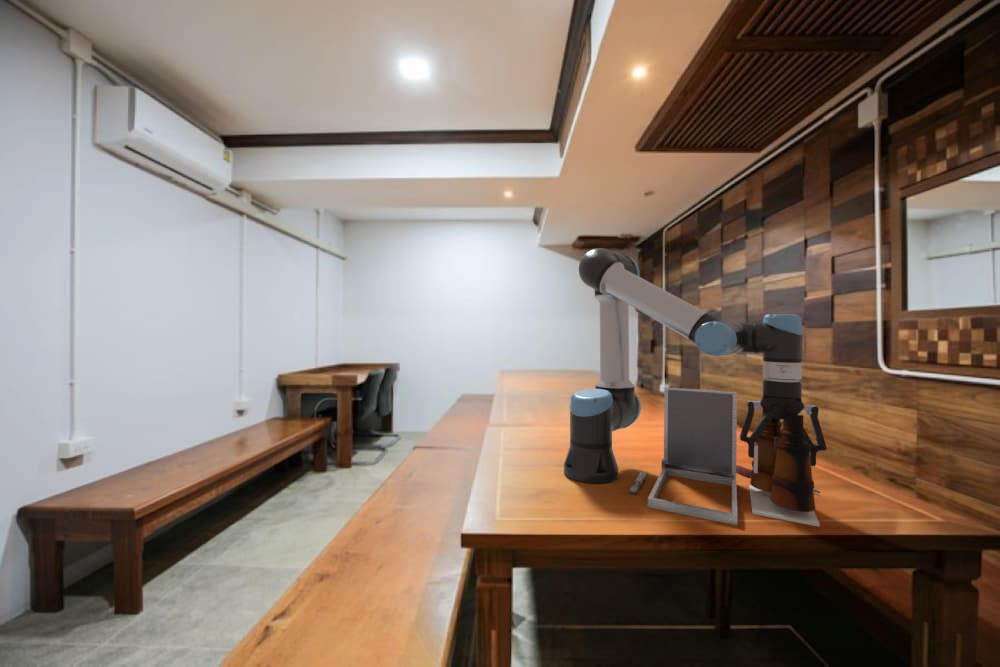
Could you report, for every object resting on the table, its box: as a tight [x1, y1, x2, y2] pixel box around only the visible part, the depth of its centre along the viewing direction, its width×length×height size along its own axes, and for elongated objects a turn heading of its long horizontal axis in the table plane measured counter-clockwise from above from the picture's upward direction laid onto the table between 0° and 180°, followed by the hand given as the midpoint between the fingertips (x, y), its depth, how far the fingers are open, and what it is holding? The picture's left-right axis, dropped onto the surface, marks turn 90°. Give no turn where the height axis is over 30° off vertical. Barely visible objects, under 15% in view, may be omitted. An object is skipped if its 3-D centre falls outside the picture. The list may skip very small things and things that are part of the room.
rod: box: [628, 471, 647, 496], centre depth 109 cm, size 2×14×2 cm, turn 151°
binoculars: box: [749, 408, 816, 512], centre depth 97 cm, size 18×8×20 cm, turn 172°
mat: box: [748, 484, 821, 527], centre depth 97 cm, size 12×18×1 cm, turn 151°
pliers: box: [736, 464, 821, 494], centre depth 112 cm, size 12×20×3 cm, turn 15°
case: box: [647, 387, 738, 526], centre depth 103 cm, size 18×27×24 cm
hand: (780, 475), depth 97 cm, fingers closed on binoculars, 9 cm apart
